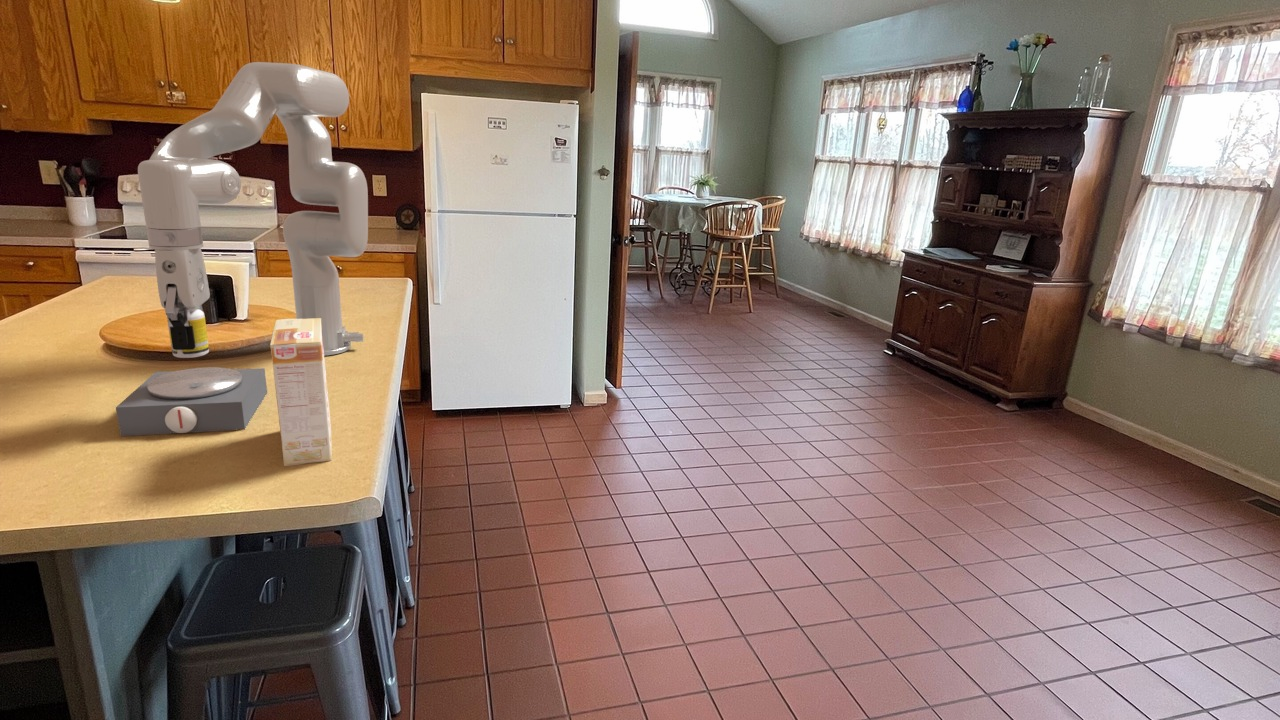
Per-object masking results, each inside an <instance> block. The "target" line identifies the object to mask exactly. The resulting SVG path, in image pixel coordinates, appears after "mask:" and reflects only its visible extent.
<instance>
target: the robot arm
mask: <svg viewBox="0 0 1280 720" xmlns="http://www.w3.org/2000/svg"><path fill="white" fill-rule="evenodd" d="M349 105H350V94H349V90H348V87H347V85H346V83H345V81H344V80H343V78H341V77H340V76H339V75H337V74H335V73H333V72H329V71H325V70H321V69H317V68H314V67H312V66H311V67H310V66H306V65H302V64H298V63H297V64H296V63H286V62H284V63H283V62H268V61H267V62H265V61H255V62H249V63H247V64H244V65H243V66H242V67H241V68H240V69H239V70H238V71H237V72H236V74H235V76H234V77H233V79H232V81H231V82H230V83H229V84H228V86H227V88H226V90H225V91H224V92H223V94H222V96H220V98H219V99H218V101H217V103H216V104H215V105H214V107H213V108H212V109H210V111H207V112H204V113H203V114H201V115H199V116H197V117H195V118H193V119H192V120H190V121H187V122H186V123H184V124H182V125H180V126H179V127H177V128H175V129H174V130H172V131H171V132H170V133H168V134H167V135H166V136H165V137H164V138H163V139H162V140H161V141H160V143H159V144H158V146H157V147H156V148H155V150H154V151H153V152H152V154H151V155H150V158H149V159H147V160H143V161H140V163H139V164H138V166H137V176H138V182H139V188H140V195H141V202H142V209H143V215H144V221H145V227H146V235H147V241H148V246H149V249H151V250H154V257H155V271H156V272H155V273H156V281H157V282H156V283H157V284H156V285H157V289H158V297H159V301H160V305H161V307H162V308H163V309H164V314H165V315H166V318H167V317H168V319H169V327H170V332H171V339H172V345H173V349H174V350H190V349H194V348H195V347H196V346H195V339H194V331H193V326H190V308H191V309H196V308H197V309H199V310H201V311H203V312H204V309H203V308H204V307H203V304H204V303H205V302H207V301H208V300H209V299H210V296H211V293H210V292H211V291H210V288H209V287H210V286H209V281H208V275H207V272H206V265H205V261H204V256H203V252H202V248H203V247H204V241H203V233H202V232H203V231H202V225H201V217H200V210H199V209H200V207H199V205H200V204H203V205H224V204H228V203H230V202H233V201H234V200H235V199H236V198H237V197H238V195H239V194H240V192H241V189H242V188H241V187H242V181H241V177H240V175H239V173H238V171H236V169H235V168H234V167H233V166H231V165H230V164H229V163H227V162H224V161H222V160H220V159H219V160H218V159H214V158H213V157H215V156H219V155H222V154H227V153H232V152H235V151H239V150H243V149H246V148H248V147H251V146H253V145H255V144H257V143H258V142H259V141H260V140H261V138H263V137H262V136H263V135H264V133H265V131H266V129H267V128H268V126H269V124H270V123H271V121H272V119H273V118H274V116H276V117H277V118H278V120H279V121H280V123H281V124H282V126H283V127H284V130H285V133H286V137H287V143H288V169H289V170H288V174H289V176H288V177H289V188H290V193H291V196H292V197H293V198H294V200H296V201H297V202H299V203H302V204H305V205H314V206H326V207H328V206H329V207H337V208H338V212H328V211H318V210H300V211H299V210H298V211H295V212H292V213H291V214H289V215H288V216H287V217H286V218H285V219H284V221H283V224H282V234H283V239H284V242H285V243H284V244H285V245H286V249H287V252H288V253H287V254H288V255H289V261H290V268H291V275H292V284H293V286H292V287H293V296H294V307H295V309H294V310H295V319H310V318H321V325H322V339H323V349H324V357H326V356H334V355H338V354H342V353H345V352H347V351H349V350H350V349H351V347H352V344H351V343H352V342H356V343H358V342H359V343H360V342H361V343H363V342H364V340H365V339H364V333H359V331H356V332H355V331H353V332H349V331H348V330H347V331H346V326H343V318H342V306H341V305H342V303H341V290H340V276H339V272H338V268H337V267H336V265H335V264H334V262H333V260H332V259H331V257H340V258H341V257H343V258H344V257H345V258H357V257H359V256H361V255H363V254H364V252H365V250H366V249H367V246H368V240H369V239H368V237H369V195H368V194H369V193H368V192H369V191H368V190H369V189H368V182H367V178H366V177H365V173H364V172H363V170H362V168H360V167H359V166H358V165H356V164H354V163H351V162H345V161H333V155H332V140H331V136H330V133H329V131H328V129H327V128H326V126H325V125H324V123H323V122H322V121H321V119H319V117H323V118H325V117H326V118H338V117H340V116H342V115H344V114H345V112H346V111H347V109H348V108H349ZM210 158H213V159H210ZM177 304H184V306H185V308H177ZM178 312H184V317H183V315H182V314H181V313H178ZM169 327H168V328H169Z"/></svg>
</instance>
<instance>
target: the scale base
mask: <svg viewBox="0 0 1280 720" xmlns="http://www.w3.org/2000/svg"><path fill="white" fill-rule="evenodd" d="M232 369H233V370H236V371H238V372H240V373H241V375H242V383H241V384H240V385H239V386H238V387H236V388H234V389H232V390H230V391H227V392H224V393H221V394H217V395H213V396H208V397H202V398H193V399H164V398H158V397H154V396H152V395H150V394H149V392H148V387H147V384H148V383H149V381H151V380H152V379H154V378H156V377H158V376H161V375H164V374H167V373H171V372H175V370H172V371H170V370H169V371H155V372H154V373H153V374H151V376H150V377H149V378H147V379H146V380H145V381H144V382H143V383H142V384H140V386H138V387H137V388H136V389H135V390H134V391H132V392H131V393H130V394H129V395H128V396H127V397H125V399H124V400H122V401H121V402H120V403H119V404H118V405H117V406H115V411H116V416H117V417H116V418H117V422H118V423H117V424H118V427H119V432H120V436H121V437H130V436H133V437H134V436H149V435H163V434H164V435H165V434H166V435H169V434H184V433H185V434H186V433H187V434H189V433H204V432H205V433H207V432H222V431H223V430H225V431H238V429H244V430H246V429H245V428H247V427H248V426H249V424H248V423H250V422H251V420H252V419H253V417H254V416H253V415H255V414H256V412H257V411H256V410H258V409H259V407H260V406H261V404H262V403H263V401H264V399H265V398H264V397H266V396H267V394H268V388H267V387H268V386H267V378H266V369H265V368H239V369H238V368H236V369H234V368H232ZM265 395H266V396H265ZM262 400H263V401H262ZM259 405H260V406H259ZM257 408H258V409H257ZM254 413H255V414H254ZM252 416H253V417H252ZM251 418H252V419H251ZM250 419H251V420H250ZM249 421H250V422H249ZM246 426H247V427H246ZM236 429H237V430H236ZM223 432H224V431H223Z"/></svg>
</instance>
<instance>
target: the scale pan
mask: <svg viewBox="0 0 1280 720" xmlns="http://www.w3.org/2000/svg"><path fill="white" fill-rule="evenodd" d="M233 369H234V368H229V367H227V368H226V367H220V366H219V367H217V366H215V367H212V366H211V367H209V366H207V367H206V366H205V367H194V368H186V369H181V370H176V371H175V370H174V371H175V372H171V373H167V374H164V375H161V376H158V377H156V378H154V379H152V380H151V381H149V383H148V384H147V387H148V392H149V394H150V395H152V396H154V397H158V398H164V399H193V398H202V397H208V396H213V395H217V394H221V393H224V392H227V391H230V390H232V389H234V388H236V387H238V386H239V385H240V384H241V383H242V375H241V373H240V372H238V371H236V370H233Z"/></svg>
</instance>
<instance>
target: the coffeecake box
mask: <svg viewBox="0 0 1280 720" xmlns="http://www.w3.org/2000/svg"><path fill="white" fill-rule="evenodd" d="M269 344H270V345H269V348H270V352H271V359H272V360H271V361H272V368H273V370H272V371H273V378H274V387H275V396H276V403H277V414H278V422H279V423H278V424H279V432H280V440H281V449H282V450H281V451H282V457H283V458H282V459H283V466H284V467H288V466H289V467H291V466H297V465H303V464H304V465H305V464H310V463H311V464H312V463H322V462H329V461H332V456H333V455H332V452H333V451H332V448H333V447H332V425H331V412H330V402H329V393H328V382H327V372H326V363H325V362H326V360H325V356H324V349H323V339H322V325H321V318H310V319H296V318H281V319H276V320H275V321H274V326H273V330H272V334H271V339H270V343H269Z"/></svg>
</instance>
